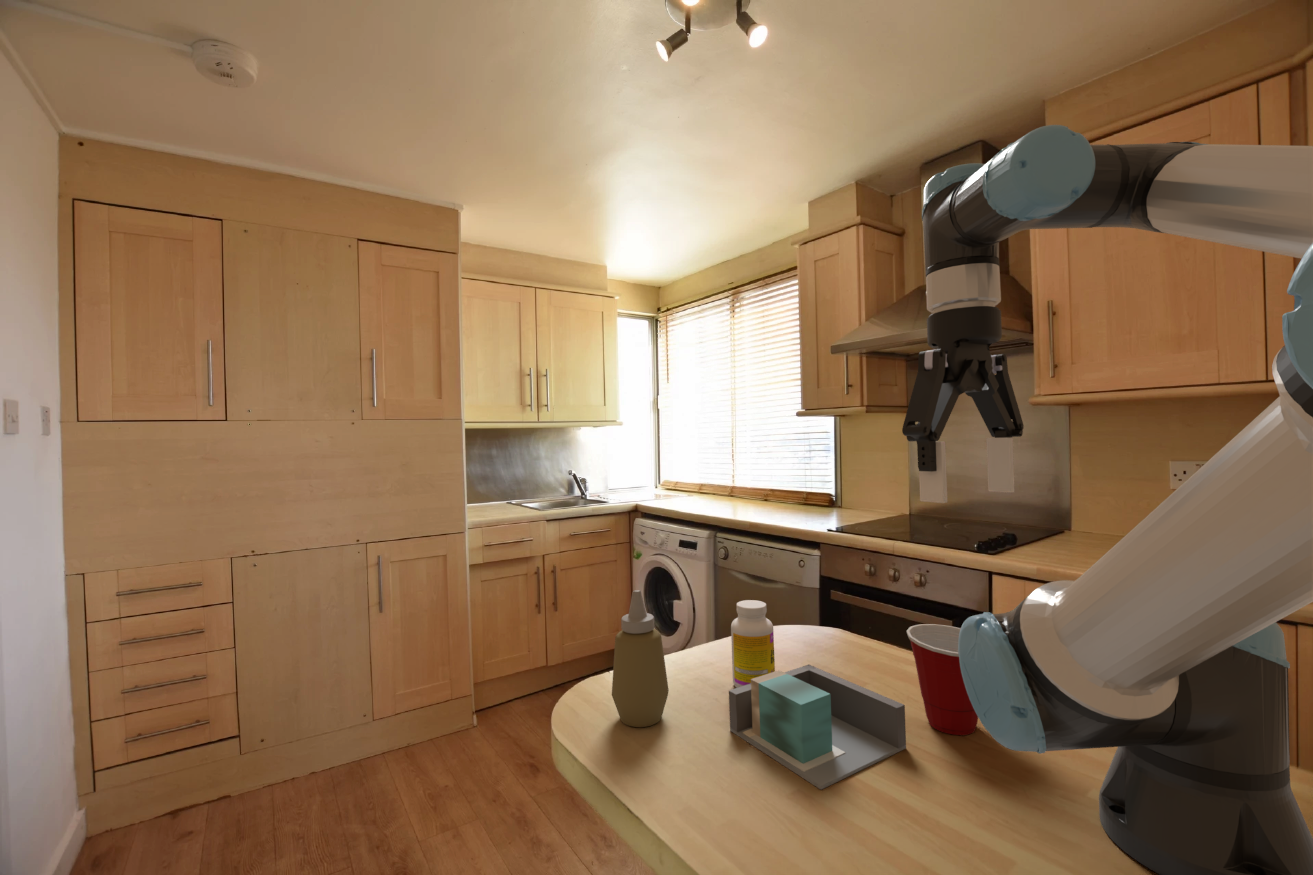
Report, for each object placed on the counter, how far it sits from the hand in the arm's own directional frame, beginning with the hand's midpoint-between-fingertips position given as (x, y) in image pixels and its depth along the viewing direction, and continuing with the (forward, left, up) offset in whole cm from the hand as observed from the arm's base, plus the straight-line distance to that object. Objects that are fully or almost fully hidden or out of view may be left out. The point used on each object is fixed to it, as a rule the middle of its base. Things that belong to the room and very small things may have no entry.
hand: (969, 497), depth 67 cm
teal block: (+17, +13, -31) cm, 38 cm away
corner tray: (+16, +9, -32) cm, 37 cm away
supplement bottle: (+33, +5, -32) cm, 46 cm away
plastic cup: (+8, -8, -32) cm, 34 cm away
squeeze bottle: (+34, +25, -32) cm, 53 cm away
